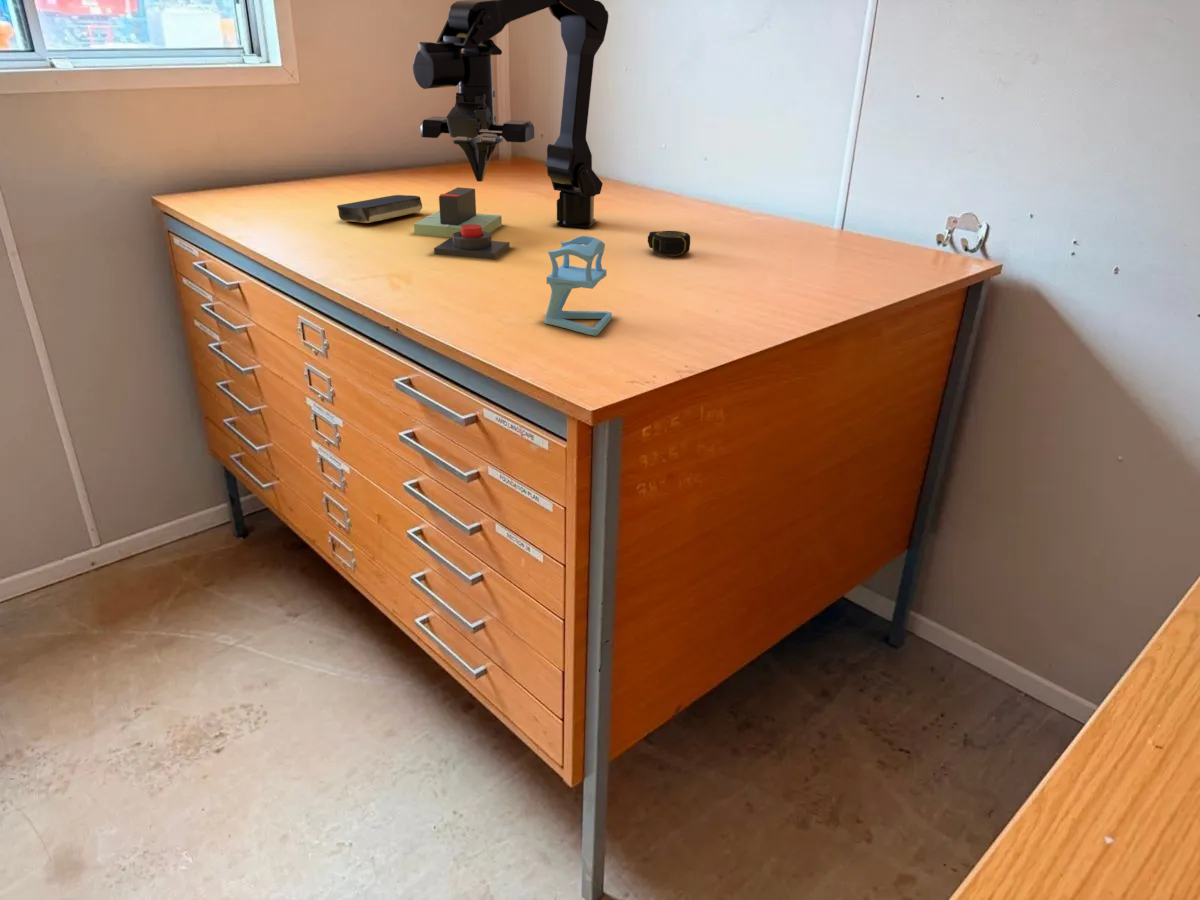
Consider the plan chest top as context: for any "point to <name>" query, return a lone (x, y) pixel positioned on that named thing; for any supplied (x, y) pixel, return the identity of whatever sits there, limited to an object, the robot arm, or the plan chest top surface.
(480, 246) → the button box
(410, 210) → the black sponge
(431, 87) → the robot arm
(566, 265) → the chair
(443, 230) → the pale green square pad
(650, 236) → the tape measure
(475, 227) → the button
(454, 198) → the block
